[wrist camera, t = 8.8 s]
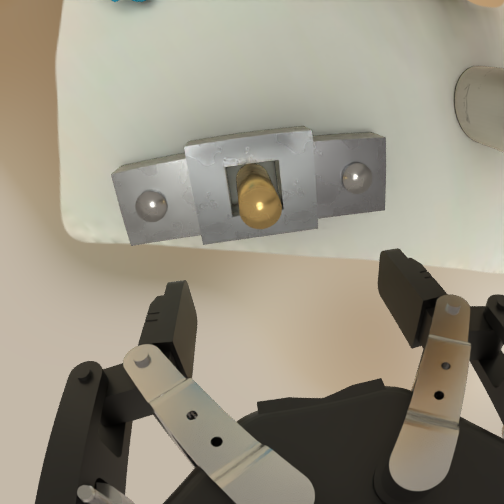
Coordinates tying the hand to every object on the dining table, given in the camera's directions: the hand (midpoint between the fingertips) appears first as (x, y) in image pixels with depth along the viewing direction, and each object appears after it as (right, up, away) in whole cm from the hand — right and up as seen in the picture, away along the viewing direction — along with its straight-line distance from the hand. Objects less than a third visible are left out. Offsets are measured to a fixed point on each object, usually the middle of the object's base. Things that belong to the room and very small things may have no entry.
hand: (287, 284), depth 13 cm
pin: (-1, +8, +17) cm, 19 cm away
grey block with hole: (-1, +8, +17) cm, 19 cm away
